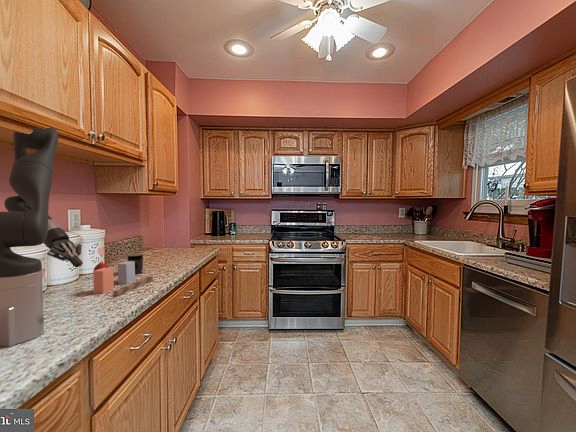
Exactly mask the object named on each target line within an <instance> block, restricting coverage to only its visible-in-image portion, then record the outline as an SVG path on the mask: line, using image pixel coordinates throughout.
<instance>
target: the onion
mask: <svg viewBox="0 0 576 432" xmlns="http://www.w3.org/2000/svg"><path fill="white" fill-rule="evenodd" d="M102 268H109V266H108V264H106V263H104V260H102V261H99V263H98V264H96V265H95V267H94V268H93V271H95V270H98V269H102Z"/></svg>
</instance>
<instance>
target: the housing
mask: <svg viewBox="0 0 576 432" xmlns="http://www.w3.org/2000/svg"><path fill="white" fill-rule="evenodd" d="M153 278H154V277H153V276H146V277H144V278H141V279H139V280H135V281H133V282H131V283H128V284H126V285H125V286H121V287H120V288H117V289H116V290H112V291H113V292H112V293H113V294H112V296H113V297H119V296H122V295H124V294H126V293H129V292H132V291H133V290H136V289H137V288H140V287H142V286H144V285H146V284H149V283H150V282H151V283H152V281H153V282H154V279H153Z"/></svg>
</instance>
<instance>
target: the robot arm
mask: <svg viewBox="0 0 576 432" xmlns="http://www.w3.org/2000/svg"><path fill="white" fill-rule="evenodd" d="M12 140H13V141H12V142H13V159H14V163H13V164H12V166H11V170H10V174H9V178H8V182H9V185H10V188H11V189H12V190H13V191H14V193H16V195H14V196H8V197H7V198H6V199H5V200H4V207H5V209H6V210H7V211H0V347H12V346H14V345H18V344H22V343H26V342H28V341H30V340H34V339H36V338H37V337H39V336H41V335H43V333H44V332H45V321H44V319H45V318H44V295H43V294H44V291H43V290H44V289H43V288H44V287H43V268H42V267H43V263H42V261H41V259H39V258H35V257H30V256H24V255H21V254H19V253H15V252H14V251H13V250H12V249H11V248H22V247H24V248H25V247H35V246H41V245H45V247H47V248H48V250H49V251H47V253H46V255H48V256H49V257H51V258H52V257H53V258H54V259H57V260H60V261H63V262H65V261H67V262H70V263H71V265H73V267H75V268H79V267H81V266H82V265H83V261H82V259H81V258H79V256H80V255H81V254H82V246H83V245H82V244H81V243H78V244H74V242H73V241H71V240H70V237H69V234H67V232H66V231H65V230H64V229H63V228H62V227H61V226H60V225H59V224H58V222H56V221H55V220H54V219H53V218H52V217H51V216H50V215H49V204H50V203H49V202H50V196H51V195H50V194H51V189H52V185H53V177H54V162H55V155H56V152H57V149H58V144H59V132H58V131H57V129H56V128H54V127H52V128H47V129H43V128H34V129H33V132H32V133H31V134H24V133H19V132H14V131H13V139H12ZM27 149H30V150H34V151H35V152H32V153H29V154H28V151H27Z"/></svg>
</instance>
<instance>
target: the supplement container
mask: <svg viewBox="0 0 576 432" xmlns="http://www.w3.org/2000/svg"><path fill="white" fill-rule="evenodd" d="M126 259H127V260H126V261H133V262H135V276H137V275H141V274H143V273H144V253H130V254H127V255H126Z"/></svg>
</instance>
